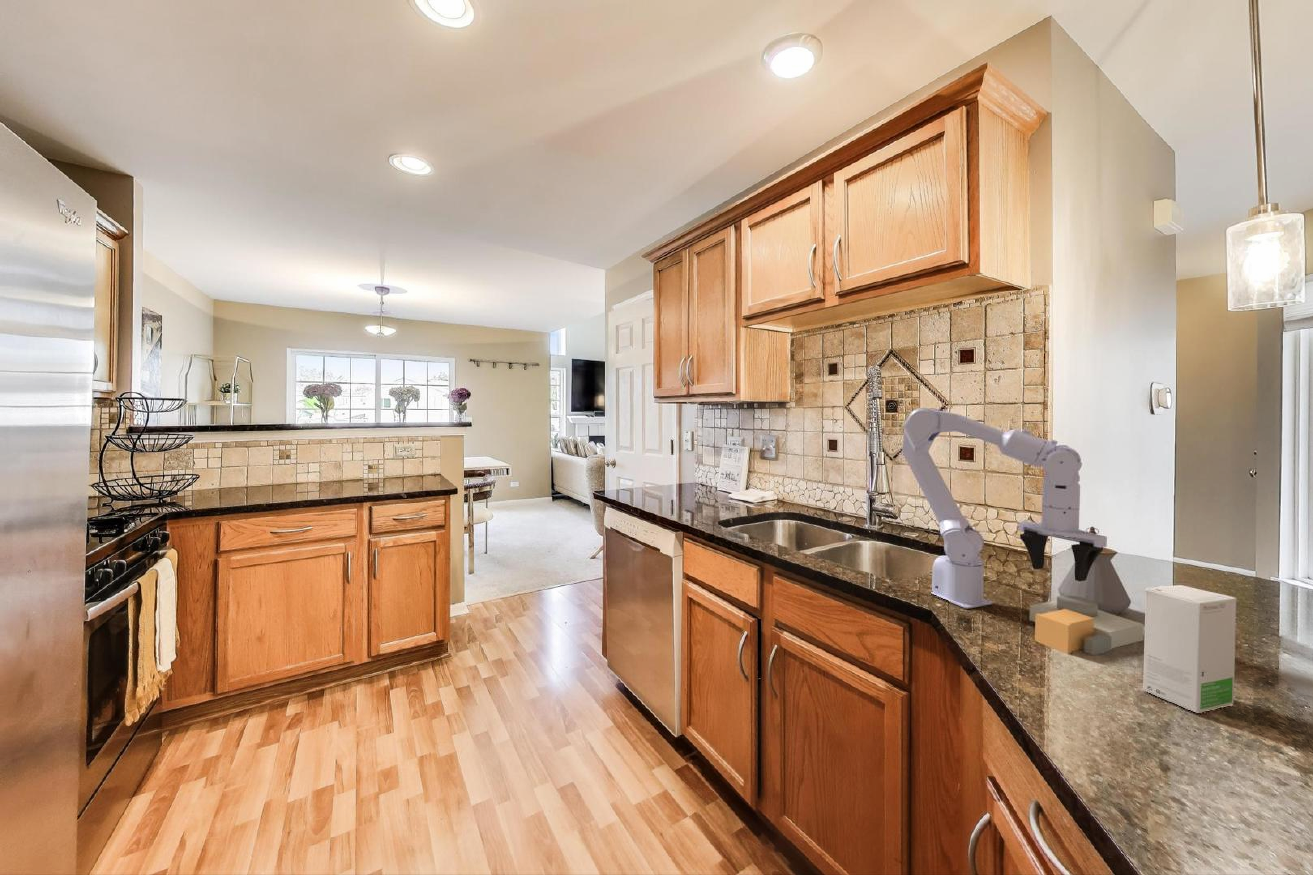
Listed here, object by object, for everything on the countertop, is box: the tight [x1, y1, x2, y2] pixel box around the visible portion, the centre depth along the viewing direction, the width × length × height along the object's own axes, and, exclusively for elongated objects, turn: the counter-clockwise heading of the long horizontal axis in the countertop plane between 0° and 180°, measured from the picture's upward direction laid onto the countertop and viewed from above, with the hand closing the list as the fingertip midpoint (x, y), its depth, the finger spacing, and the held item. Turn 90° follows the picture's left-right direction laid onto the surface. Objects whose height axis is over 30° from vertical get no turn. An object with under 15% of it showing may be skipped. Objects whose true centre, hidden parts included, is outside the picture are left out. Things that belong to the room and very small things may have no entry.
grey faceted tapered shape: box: [1057, 526, 1132, 616], centre depth 106 cm, size 21×12×15 cm, turn 139°
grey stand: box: [1029, 594, 1144, 656], centre depth 91 cm, size 13×15×5 cm
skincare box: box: [1142, 584, 1237, 714], centre depth 69 cm, size 8×7×16 cm
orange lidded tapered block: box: [1034, 609, 1094, 655], centre depth 87 cm, size 5×8×5 cm
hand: (1058, 574), depth 96 cm, fingers open, 7 cm apart
